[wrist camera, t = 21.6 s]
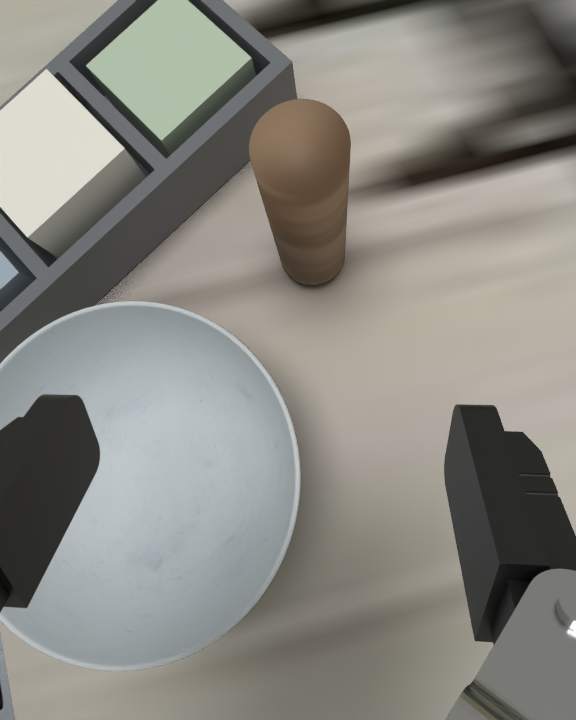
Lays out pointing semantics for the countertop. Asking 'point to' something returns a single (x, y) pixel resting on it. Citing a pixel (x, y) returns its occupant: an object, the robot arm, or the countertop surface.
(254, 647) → the countertop surface
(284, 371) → the countertop surface
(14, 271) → the slate key
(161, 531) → the chinaware
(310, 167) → the walnut stylus
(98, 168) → the ivory key
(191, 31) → the sage key
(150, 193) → the keypad
